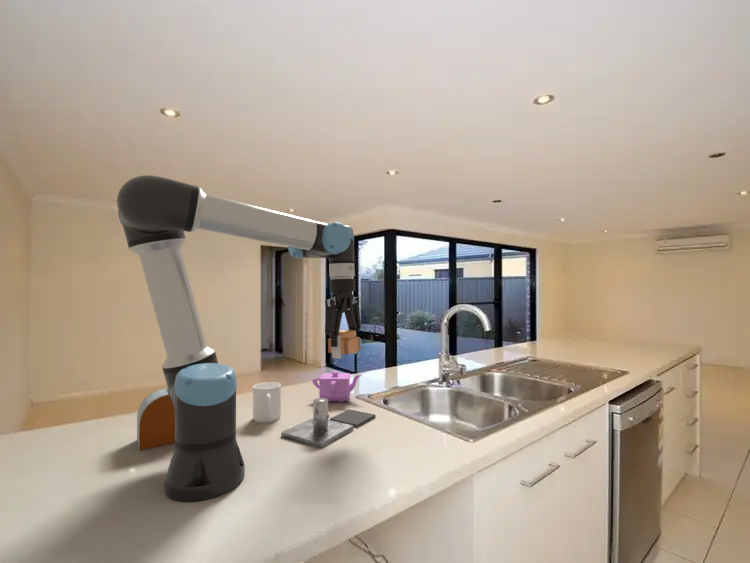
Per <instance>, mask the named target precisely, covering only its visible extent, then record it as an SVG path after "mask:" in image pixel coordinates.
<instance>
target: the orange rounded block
mask: <svg viewBox="0 0 750 563" xmlns="http://www.w3.org/2000/svg"><path fill="white" fill-rule="evenodd" d="M167 388H168V387H165V388H160V389H157V390H155V391H152V392H151V393H149V394H148V395H147V396H146V397H145V398H144V399H143V400H142V402H141V403H140V405H139V407H138V410H137V414H136V420H137V421H136V423H137V424H136V441H137V446H138V451H143V450H148V449H153V448H157V447H162V446H166V445H171V444H175V410H174V407H173V403H172V401H171V399H170V397H169V394H168V390H167Z"/></svg>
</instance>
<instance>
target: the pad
mask: <svg viewBox="0 0 750 563" xmlns="http://www.w3.org/2000/svg"><path fill="white" fill-rule="evenodd" d="M375 418H376V414H375V413H369V412H365V411H364V412H363V411H358V410H354V409H347V410H345V411H343V412H341V413H339V414H337V415H334V416H331V417H329V420H331V421H336V422H340V423H344V424H349V425H353V428H359V427H361V426H362V425H364V424H366V423H368V422H369V421H371V420H373V419H375Z"/></svg>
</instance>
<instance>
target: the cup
mask: <svg viewBox="0 0 750 563" xmlns="http://www.w3.org/2000/svg"><path fill="white" fill-rule="evenodd" d="M281 393H282V384H281V383H280V382H275V381H267V382H260V383H256V384H254V385H253V386H252V418H253V420H254V421H255V422H257V423H260V424H262V423H263V424H264V423H265V422H267V423H271V422H275V421H278V420H279V419H280V418H281V415H282V394H281Z"/></svg>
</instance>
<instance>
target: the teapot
mask: <svg viewBox="0 0 750 563" xmlns="http://www.w3.org/2000/svg"><path fill="white" fill-rule="evenodd" d="M362 376H363V375H362V374H357V375H355V376H354V377H353V379H352V382H351V373H350V372H349V373H347V372H346V373H339V371H337V370H333V371H331V372H330V373H329V372H328V373H327V372H325V373H324V372H323V373H322V374H321V377H315V378H313V379H312V384H313V385H314V386H315V387H316V388H317V389H318V390H319V393H318V394H319V396H318V397H319V398H325V399H328V404H330V403H331V402H337V403H339V404H341V403H345V402H349V400H350V397H351V392H352V391H353V390H354V389H355V387H356V384H357V381H358V379H359V378H360V377H362ZM318 381H319V383H318Z"/></svg>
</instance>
